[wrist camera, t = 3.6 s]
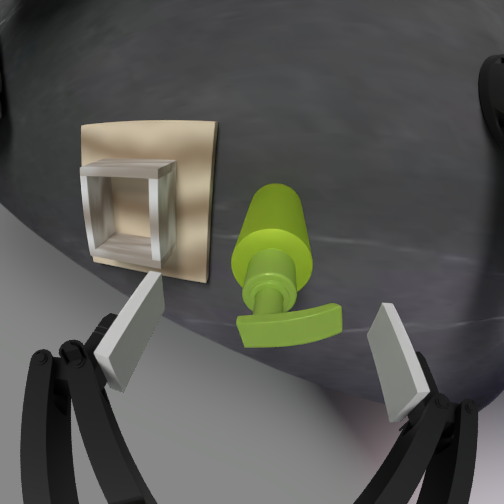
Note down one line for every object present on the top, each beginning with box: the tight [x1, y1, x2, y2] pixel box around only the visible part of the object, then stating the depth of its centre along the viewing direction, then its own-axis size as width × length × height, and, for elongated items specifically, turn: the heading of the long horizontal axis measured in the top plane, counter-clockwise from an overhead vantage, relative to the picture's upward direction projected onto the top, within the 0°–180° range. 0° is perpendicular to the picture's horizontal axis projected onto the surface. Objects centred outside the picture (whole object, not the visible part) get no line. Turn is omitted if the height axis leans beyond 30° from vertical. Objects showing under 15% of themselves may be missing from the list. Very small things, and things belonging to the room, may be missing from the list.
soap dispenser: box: [231, 184, 342, 347], centre depth 22 cm, size 6×7×20 cm
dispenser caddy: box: [80, 120, 218, 283], centre depth 29 cm, size 20×18×6 cm
